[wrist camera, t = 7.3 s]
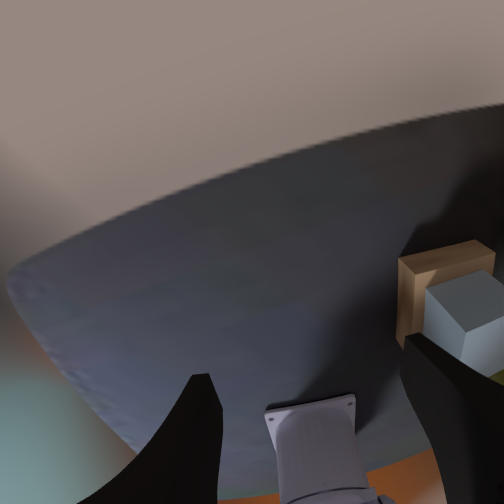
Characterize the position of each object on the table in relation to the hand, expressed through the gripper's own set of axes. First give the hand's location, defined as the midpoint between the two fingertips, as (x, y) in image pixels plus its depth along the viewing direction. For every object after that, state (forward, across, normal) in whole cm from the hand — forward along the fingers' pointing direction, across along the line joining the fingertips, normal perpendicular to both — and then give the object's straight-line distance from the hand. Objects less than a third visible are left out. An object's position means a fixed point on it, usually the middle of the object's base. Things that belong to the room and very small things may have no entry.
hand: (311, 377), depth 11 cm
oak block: (+10, -11, +5) cm, 16 cm away
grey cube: (+7, -11, +5) cm, 14 cm away
